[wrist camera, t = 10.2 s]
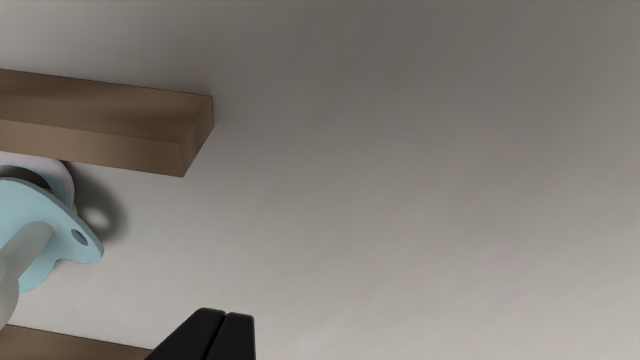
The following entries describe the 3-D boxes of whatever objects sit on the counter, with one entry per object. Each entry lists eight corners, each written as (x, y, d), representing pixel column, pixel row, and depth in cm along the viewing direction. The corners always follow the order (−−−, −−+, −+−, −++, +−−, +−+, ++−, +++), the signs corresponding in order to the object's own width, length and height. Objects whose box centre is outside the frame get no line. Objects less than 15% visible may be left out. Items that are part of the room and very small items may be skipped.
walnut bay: (210, 88, 19) (178, 135, 17) (229, 383, 29) (210, 440, 26) (-203, 35, 21) (-287, 71, 19) (-57, 331, 30) (-100, 380, 28)
